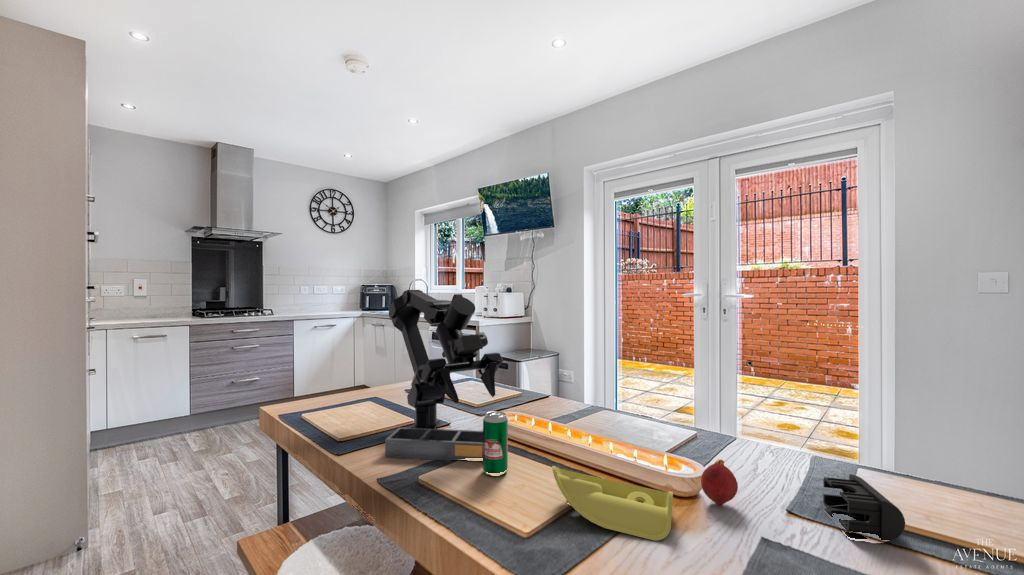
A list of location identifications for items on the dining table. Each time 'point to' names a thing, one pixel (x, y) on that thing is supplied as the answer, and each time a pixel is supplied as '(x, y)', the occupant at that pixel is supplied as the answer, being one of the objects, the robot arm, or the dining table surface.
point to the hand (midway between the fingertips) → (476, 398)
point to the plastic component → (617, 504)
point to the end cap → (863, 509)
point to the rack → (434, 444)
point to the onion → (719, 483)
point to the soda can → (495, 442)
